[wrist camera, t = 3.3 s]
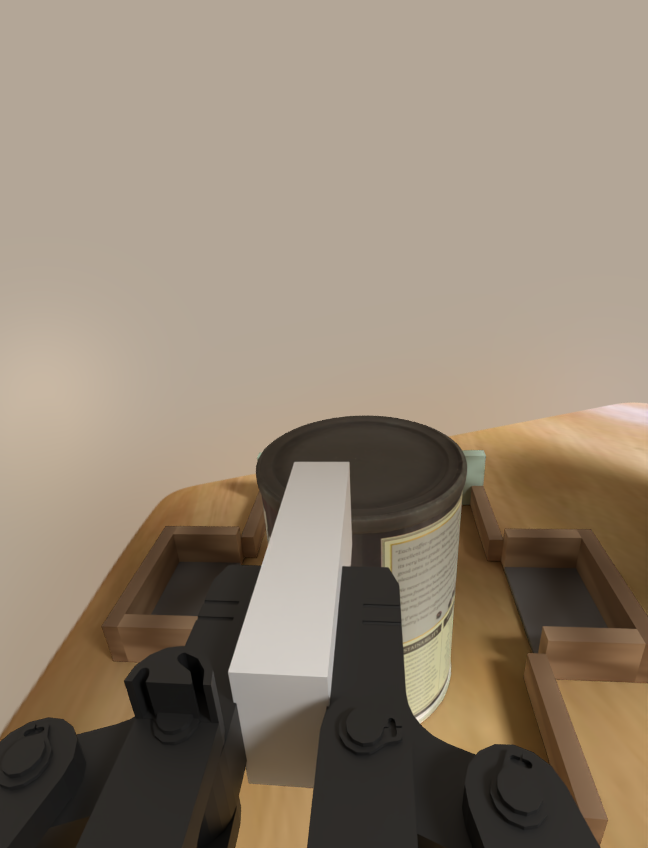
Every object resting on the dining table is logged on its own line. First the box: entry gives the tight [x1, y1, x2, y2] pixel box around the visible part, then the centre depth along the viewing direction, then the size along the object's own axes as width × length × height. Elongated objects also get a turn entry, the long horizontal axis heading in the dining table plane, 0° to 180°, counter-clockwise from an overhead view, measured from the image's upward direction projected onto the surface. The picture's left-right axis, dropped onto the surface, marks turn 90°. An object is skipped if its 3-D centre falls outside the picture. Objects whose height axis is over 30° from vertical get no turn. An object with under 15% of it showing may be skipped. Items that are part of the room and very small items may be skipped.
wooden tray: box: [102, 450, 648, 846], centre depth 33 cm, size 32×26×5 cm
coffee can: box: [256, 416, 467, 723], centre depth 27 cm, size 10×10×14 cm
